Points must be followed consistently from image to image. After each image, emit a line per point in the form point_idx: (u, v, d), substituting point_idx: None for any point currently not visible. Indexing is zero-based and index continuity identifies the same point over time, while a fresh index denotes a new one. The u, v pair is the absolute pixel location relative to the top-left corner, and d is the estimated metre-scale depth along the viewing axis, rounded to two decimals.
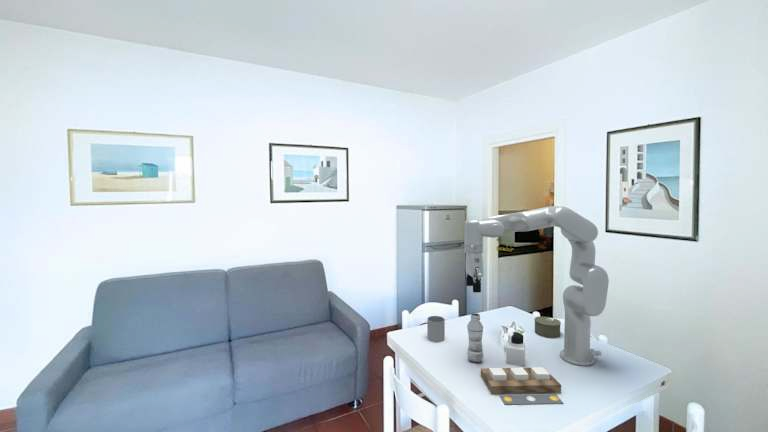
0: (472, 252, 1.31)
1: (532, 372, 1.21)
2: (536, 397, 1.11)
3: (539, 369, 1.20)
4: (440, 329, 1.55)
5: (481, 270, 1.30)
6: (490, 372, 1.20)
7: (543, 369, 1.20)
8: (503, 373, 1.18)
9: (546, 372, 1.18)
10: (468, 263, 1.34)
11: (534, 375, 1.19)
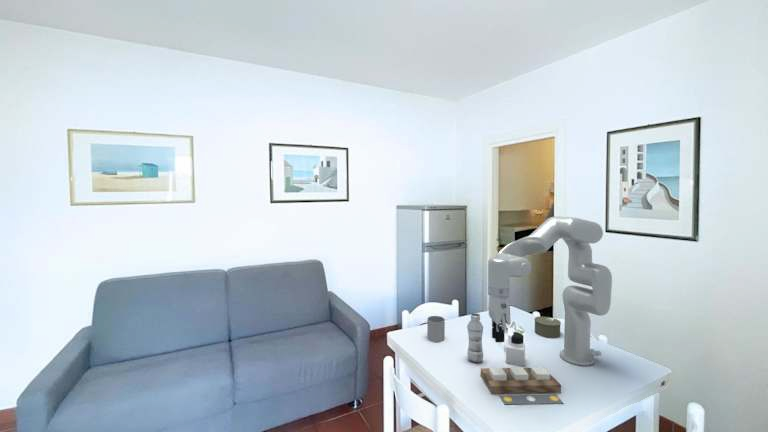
0: (498, 296, 1.14)
1: (532, 372, 1.21)
2: (536, 397, 1.11)
3: (539, 369, 1.20)
4: (440, 329, 1.55)
5: (508, 317, 1.13)
6: (490, 372, 1.20)
7: (543, 369, 1.20)
8: (503, 373, 1.18)
9: (546, 372, 1.18)
10: (492, 308, 1.17)
11: (534, 375, 1.19)
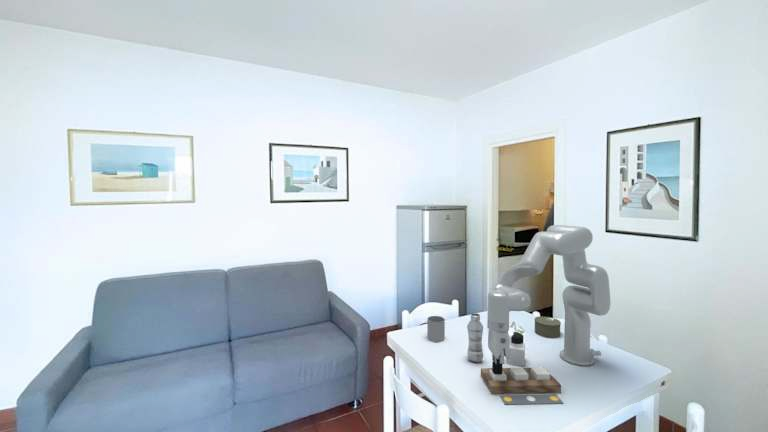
0: (497, 330, 1.15)
1: (532, 372, 1.21)
2: (536, 397, 1.11)
3: (539, 369, 1.20)
4: (440, 329, 1.55)
5: (507, 352, 1.14)
6: (490, 374, 1.20)
7: (543, 369, 1.20)
8: (503, 375, 1.18)
9: (546, 372, 1.18)
10: (492, 341, 1.17)
11: (534, 375, 1.19)
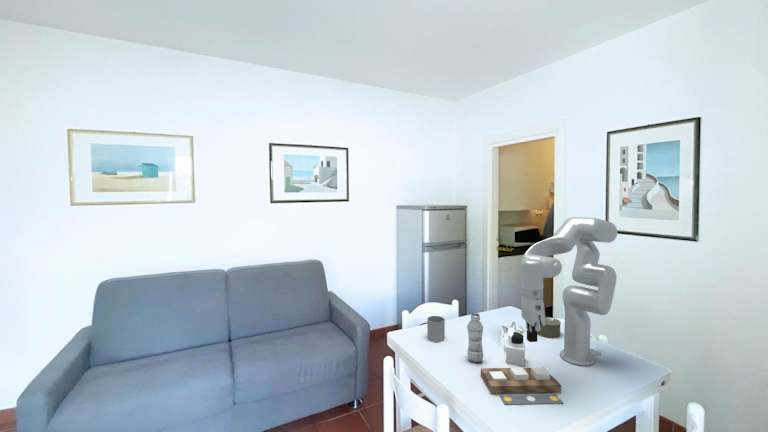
0: (532, 298, 1.15)
1: (532, 372, 1.21)
2: (536, 397, 1.11)
3: (539, 369, 1.20)
4: (440, 329, 1.55)
5: (543, 319, 1.13)
6: (490, 376, 1.20)
7: (543, 369, 1.20)
8: (503, 377, 1.18)
9: (546, 372, 1.18)
10: (526, 309, 1.17)
11: (534, 375, 1.19)
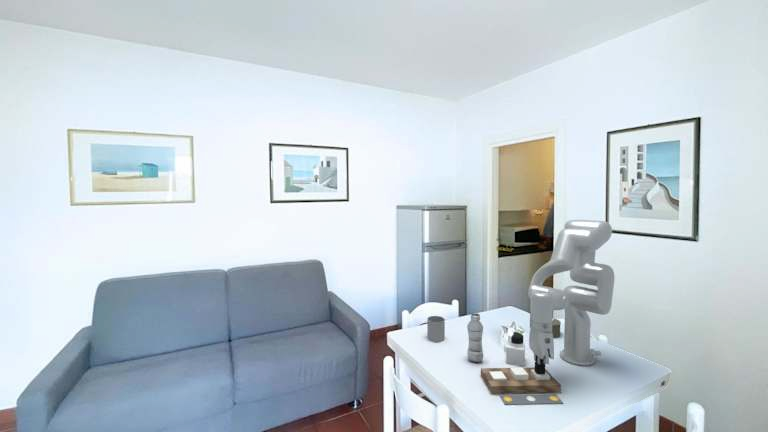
0: (541, 331, 1.15)
1: (532, 374, 1.21)
2: (536, 397, 1.11)
3: None
4: (440, 329, 1.55)
5: (552, 352, 1.14)
6: (490, 376, 1.20)
7: None
8: (503, 377, 1.18)
9: (546, 374, 1.18)
10: (535, 341, 1.18)
11: (534, 377, 1.19)
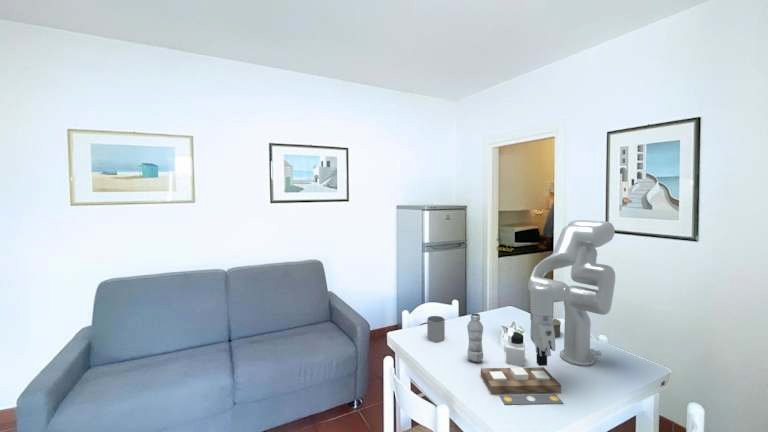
0: (542, 323, 1.15)
1: None
2: (536, 397, 1.11)
3: (539, 373, 1.20)
4: (440, 329, 1.55)
5: (553, 344, 1.14)
6: (490, 376, 1.20)
7: (543, 373, 1.20)
8: (503, 377, 1.18)
9: (546, 376, 1.18)
10: (536, 334, 1.18)
11: None
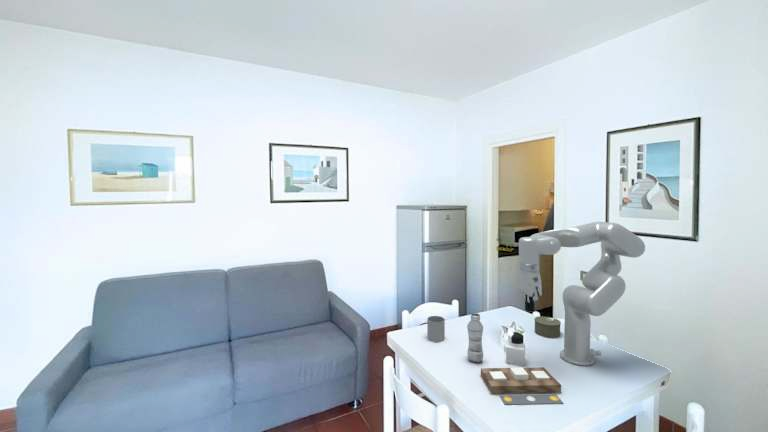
0: (530, 271, 1.28)
1: None
2: (536, 397, 1.11)
3: (539, 373, 1.20)
4: (440, 329, 1.55)
5: (540, 289, 1.27)
6: (490, 376, 1.20)
7: (543, 373, 1.20)
8: (503, 377, 1.18)
9: (546, 376, 1.18)
10: (525, 282, 1.30)
11: None
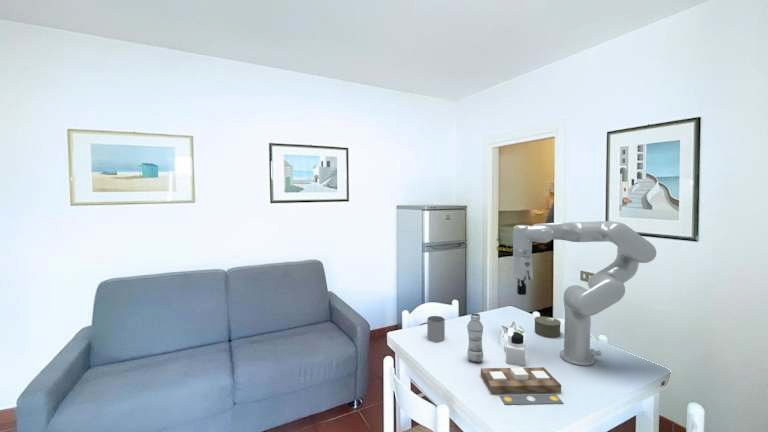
0: (522, 256, 1.37)
1: None
2: (536, 397, 1.11)
3: (539, 373, 1.20)
4: (440, 329, 1.55)
5: (531, 273, 1.36)
6: (490, 376, 1.20)
7: (543, 373, 1.20)
8: (503, 377, 1.18)
9: (546, 376, 1.18)
10: (517, 267, 1.40)
11: None
